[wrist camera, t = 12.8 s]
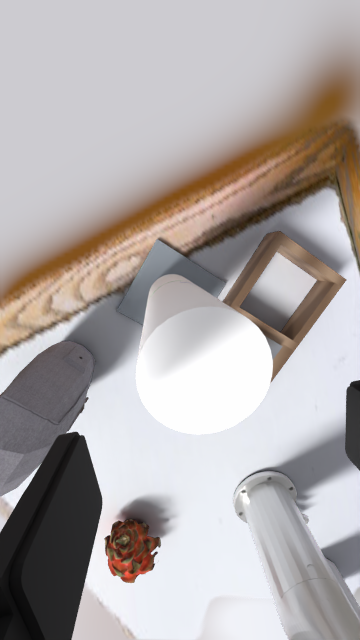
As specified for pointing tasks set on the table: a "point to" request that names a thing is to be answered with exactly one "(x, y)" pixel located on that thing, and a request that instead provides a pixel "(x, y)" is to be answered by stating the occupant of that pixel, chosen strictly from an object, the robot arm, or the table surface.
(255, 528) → the robot arm
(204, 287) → the mat
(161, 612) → the table surface
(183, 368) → the cylindrical container
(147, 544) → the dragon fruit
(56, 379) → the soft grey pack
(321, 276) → the wooden divided tray
